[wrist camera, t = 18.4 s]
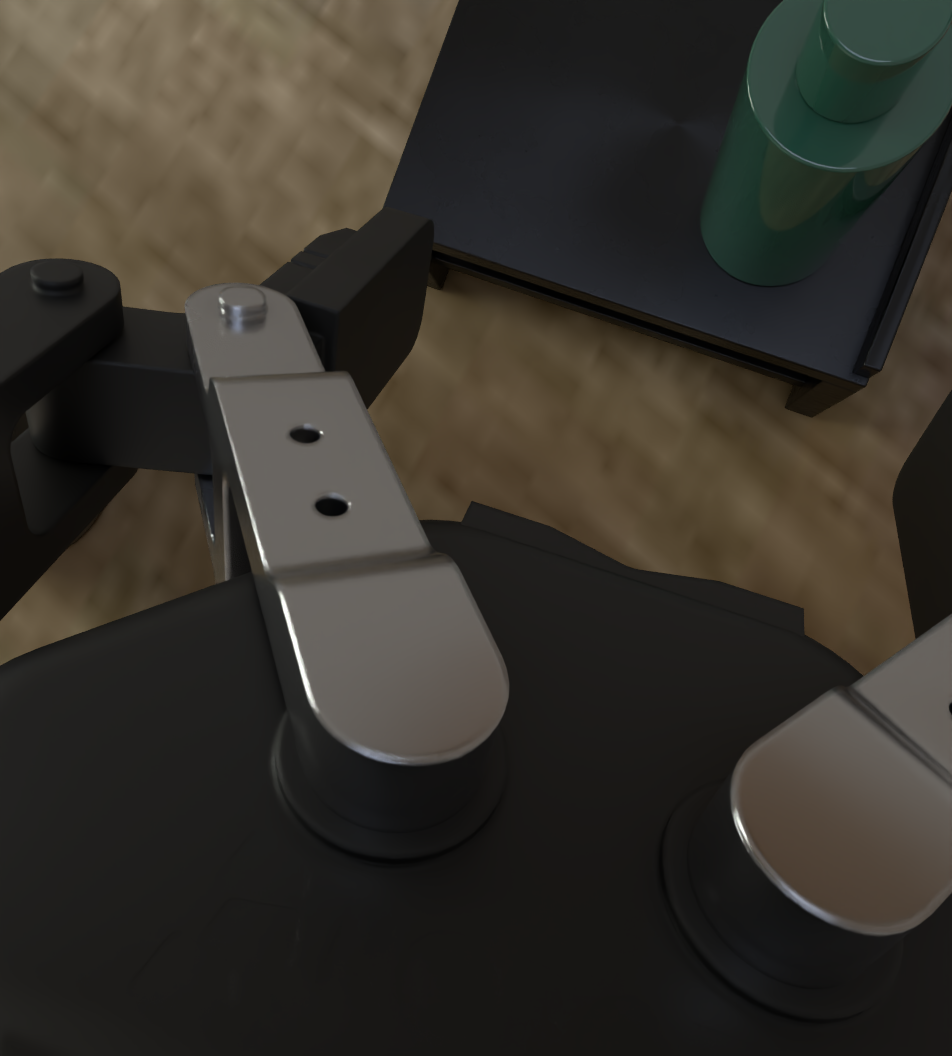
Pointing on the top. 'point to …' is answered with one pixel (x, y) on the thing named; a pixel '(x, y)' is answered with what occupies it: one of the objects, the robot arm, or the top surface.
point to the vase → (823, 129)
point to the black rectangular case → (643, 186)
